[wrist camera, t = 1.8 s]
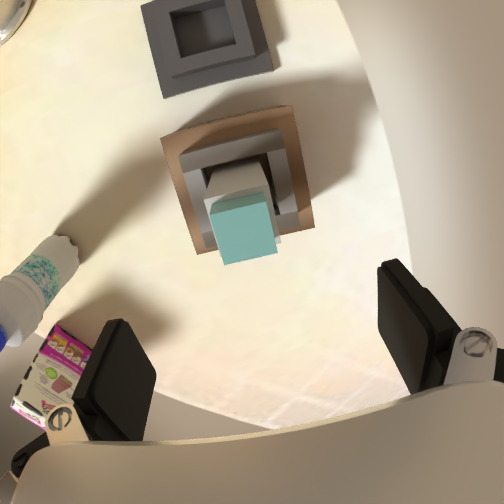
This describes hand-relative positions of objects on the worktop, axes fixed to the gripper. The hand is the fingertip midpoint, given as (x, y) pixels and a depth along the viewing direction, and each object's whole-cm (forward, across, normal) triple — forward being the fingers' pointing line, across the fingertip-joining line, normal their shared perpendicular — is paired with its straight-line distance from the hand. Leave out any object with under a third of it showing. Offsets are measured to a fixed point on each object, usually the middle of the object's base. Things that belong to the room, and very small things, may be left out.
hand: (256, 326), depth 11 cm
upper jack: (+27, 0, 0) cm, 27 cm away
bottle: (+27, +26, +4) cm, 38 cm away
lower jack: (+27, 0, -16) cm, 31 cm away
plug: (+20, 0, 0) cm, 20 cm away
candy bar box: (+27, +34, +21) cm, 48 cm away
